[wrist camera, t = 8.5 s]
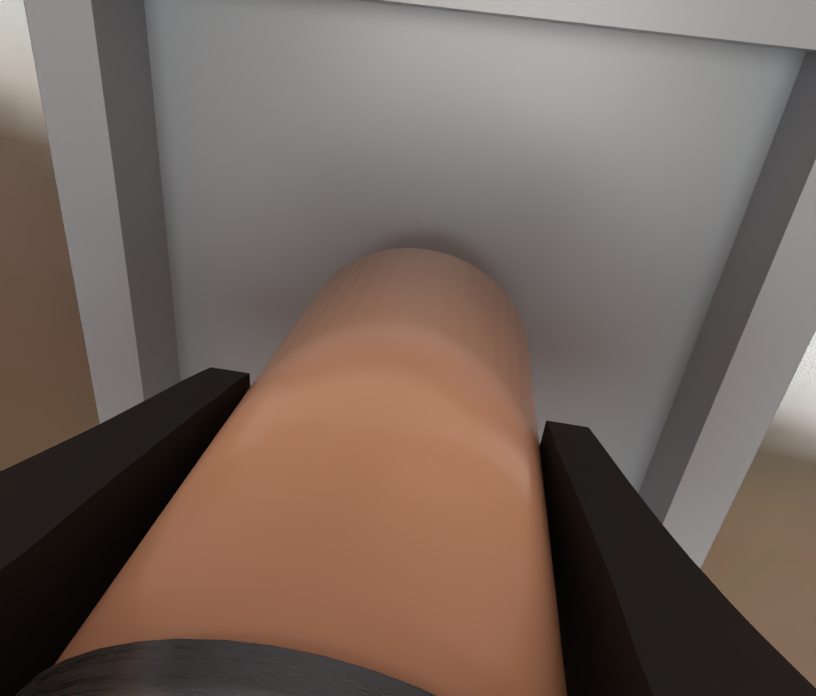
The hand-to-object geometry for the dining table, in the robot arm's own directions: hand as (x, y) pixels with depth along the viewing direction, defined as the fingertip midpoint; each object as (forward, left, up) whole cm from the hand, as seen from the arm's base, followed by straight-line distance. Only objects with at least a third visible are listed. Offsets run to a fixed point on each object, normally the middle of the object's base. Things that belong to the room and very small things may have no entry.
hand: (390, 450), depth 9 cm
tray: (0, 0, -6) cm, 6 cm away
